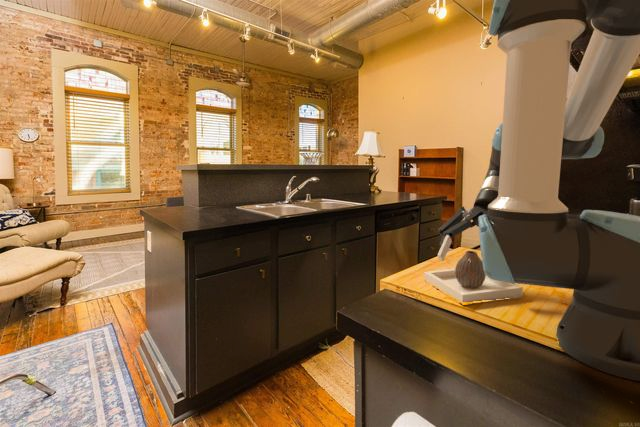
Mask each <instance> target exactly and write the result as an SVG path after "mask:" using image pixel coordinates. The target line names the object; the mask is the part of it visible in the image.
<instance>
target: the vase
mask: <svg viewBox="0 0 640 427" xmlns="http://www.w3.org/2000/svg"><path fill="white" fill-rule="evenodd" d="M454 269H455V274H456V279H457V281H458V282H459V284H460V285H461V286H463V287H465V288H470V289H475V288H478V287H480V286H481V285H482V284H483V282H484V280H485V277H486V274H485V273H484V270H483V264H482V258H481V257H480V256H479V255H478V253H477V251H474V250H467V251H465V253H464V255H463V256H462V257H461V258H460V259H459V260H458V261H457V263H456V266H455V268H454Z"/></svg>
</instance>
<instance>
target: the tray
mask: <svg viewBox="0 0 640 427" xmlns="http://www.w3.org/2000/svg"><path fill="white" fill-rule="evenodd" d="M455 269H456V268H449V269H439V270H430V271H429V270H428V271H424V272H423V279H424V278H425V279H426V280H428V281H429V282H431V283H432V284H434V285H436V286H437V287H439V288H440V289H442V290H443V291H445V292H446V293H448V294H450V295H451V296H453V297H454V298H456V299H457V300H459V301H461V302H473V301H482V300H496V299H505V298H514V299H521V297H522V298H523V290H524V288H523V287H522V286H521V285H518V284H517V283H515V284H512V283H511V282H504V281H498V280H493V279H490V278H489V277H487V276H486V277H485V280H484V282H483V284H482V285H481V286H480V287H478V288H475V289H470V288H465V287H463V286H461V285H460V284H459V282H458V281H457V279H456V274H455Z"/></svg>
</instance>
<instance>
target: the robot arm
mask: <svg viewBox="0 0 640 427" xmlns="http://www.w3.org/2000/svg"><path fill="white" fill-rule="evenodd" d="M491 10H492V11H491V17H490V22H489V27H488V35H489V36H493V37H495V36H496V37H497V47H498V48H499V49H500V50H501V51H502V52H504V53H505V54H506V65H505V82H504V83H505V84H504V96H503V97H504V98H503V113H502V123H500V124H499V125H498V126H497V127H496V129H495V131H494V134H493V139H492V144H491V154H490V159H489V166H488V168H487V172H486V174H485V178H483V179H484V180H483V182H482V184H481V186H480V188H479V191H478V194H477V196H476V199H475V200H474V203H473V206H472V207H471V209H469V208H468V209H467V208H465V207H464V206H460V207H459V208H458V209H457V212H456V213H454V214H453V215H452V216H451V217H450V218H449V219H448V220H447V221H446V222H444V223H443V224H442V225H441V226H440V227H439V228H437V232H438V234H439V236H440V237H441V239H440V242H439V247H440V248H439V251H438V253H437V257H438V259H439V261H441V262H444V261H445V258H446V256H447V253H448V252H449V248H450V247H451V244H452V242H453V241H452V238H454V237H456V236H458V235H459V234H461V233H463V232H464V231H466V230H468V229H470V228H471V229H472V228H474V227H475V226H476V227H478V234H479V236H478V237H479V244H480V255H481V261H482V264H483V270H484V273H485V274H486V276H487V277H489V278H490V279H493V280H498V281H504V282H511V283H512V284H521V285H531V286H538V287H548V288H557V289H569V290H573V294H572V300H571V302H570V303H569V305H568V307H567V309H566V310H565V312H564V314H563V315H562V317H561V319H560V321H559V323H558V324H557V327H556V332H555V333H556V334H555V337H556V336H557V338H558V341H559V345H558V346H559V348H561V350H563V351H564V352H565V353H566V354H567V355H569V356H570V357H572V358H574V359H575V360H577V362H581V363H583V364H584V365H587V366H589V367H591V368H593V369H595V370H598V371H601V372H603V373H606V374H608V375H613V376H616V377H618V378H624V379H627V380H631V381H635V382H636V381H637V382H640V216H639V215H634V214H628V213H622V212H621V213H620V212H615V211H608V210H599V209H597V210H596V209H593V210H592V209H584V210H583V211H582V212H581V213H580V214H579V219H578V218H568V217H569V207H567V206H566V205H565V204H564V203H563V202H562V201H561V200H560V199H559V189H560V178H561V176H560V175H561V164H562V160H580V159H591V158H596V157H597V156H598V155H600V153H601V151H602V150H603V145H604V143H605V132H604V129H603V127H602V126H601V124H602V122H603V120H604V118H605V116H606V115H607V113H608V112H609V110H610V107H611V106H612V104H613V103H614V101H615V99H616V97H617V95H618V93H619V92H620V90H621V88H622V86H623V85H624V82H625V81H626V79H627V78H628V75H629V74H630V72H631V70H632V68H633V67H634V65H635V63H636V61H637V60H638V57H639V56H640V0H494V1H493V5H492V9H491ZM589 20H590V25H591V27H592V28H593V32H592V35H591V37H590V39H589V43H588V45H587V47H586V49H585V52H584V56H583V58H582V60H581V63H580V65H579V68H578V71H577V73H576V75H575V78H574V80H573V83H572V85H571V88H570V91H569V93H568V84H569V74H570V73H569V72H570V71H569V70H570V61H571V60H570V59H571V51H572V49H571V48H572V43H573V42H574V41H575V40H576V39H577V38H578V37H579V36H581V35H582V34H583V32H585V30H586V24H587V21H589Z"/></svg>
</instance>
